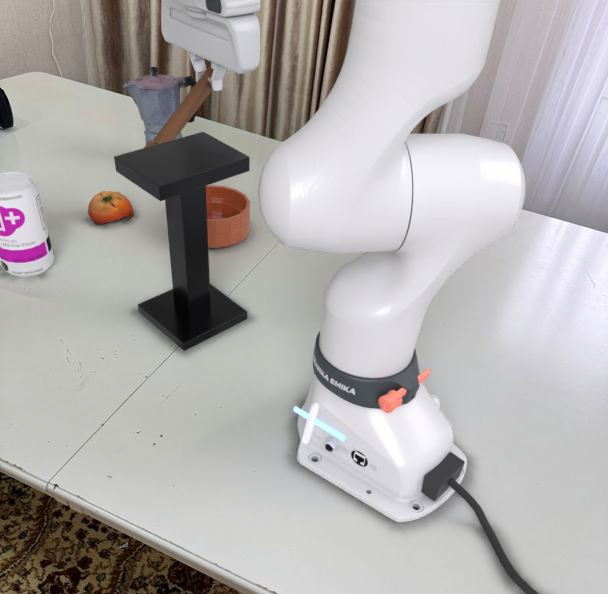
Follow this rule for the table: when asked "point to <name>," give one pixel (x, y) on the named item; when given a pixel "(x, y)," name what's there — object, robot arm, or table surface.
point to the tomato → (109, 207)
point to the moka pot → (157, 99)
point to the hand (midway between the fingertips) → (209, 86)
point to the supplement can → (23, 227)
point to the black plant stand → (186, 232)
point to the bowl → (226, 216)
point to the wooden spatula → (184, 110)
